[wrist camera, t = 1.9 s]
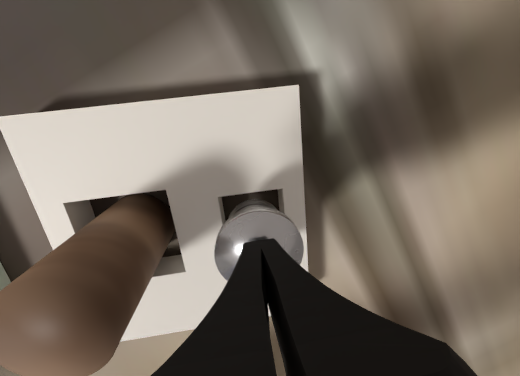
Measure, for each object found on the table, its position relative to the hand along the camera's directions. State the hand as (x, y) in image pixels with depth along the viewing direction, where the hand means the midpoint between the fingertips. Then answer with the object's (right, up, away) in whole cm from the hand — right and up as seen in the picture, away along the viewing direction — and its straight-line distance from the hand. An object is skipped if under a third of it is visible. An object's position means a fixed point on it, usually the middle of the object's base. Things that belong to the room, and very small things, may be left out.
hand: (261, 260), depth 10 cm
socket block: (-5, +1, +5) cm, 7 cm away
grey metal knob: (0, +1, +3) cm, 4 cm away
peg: (-8, +1, +5) cm, 9 cm away
